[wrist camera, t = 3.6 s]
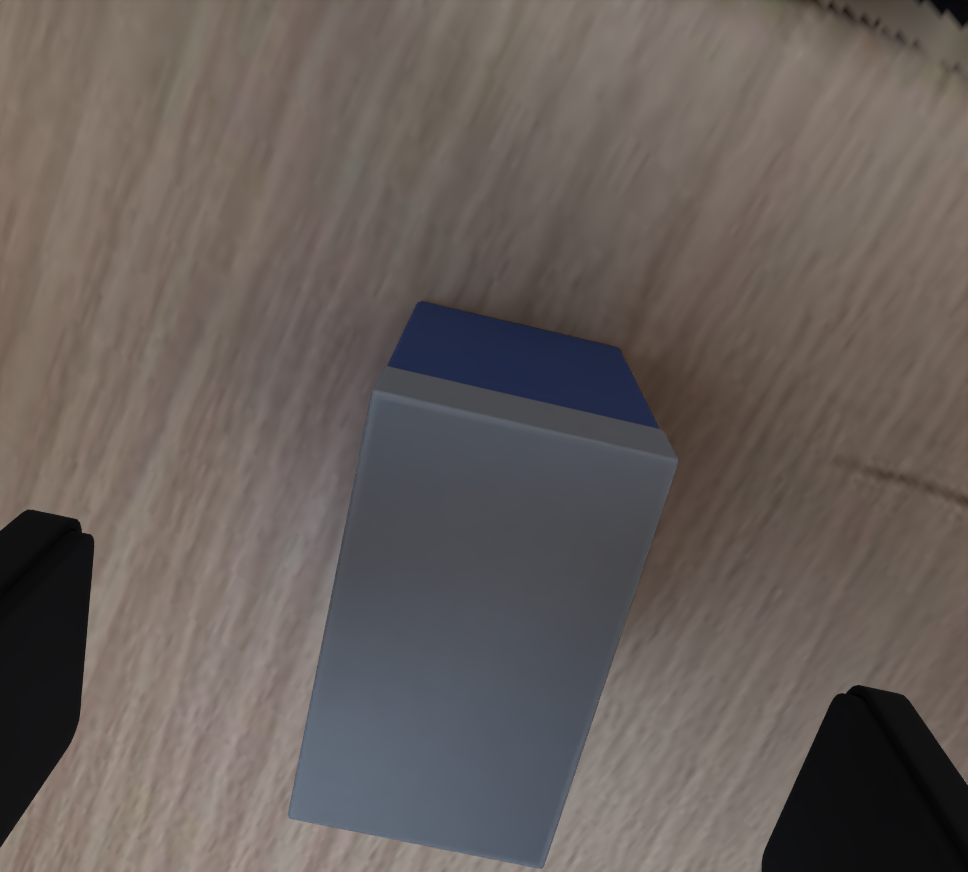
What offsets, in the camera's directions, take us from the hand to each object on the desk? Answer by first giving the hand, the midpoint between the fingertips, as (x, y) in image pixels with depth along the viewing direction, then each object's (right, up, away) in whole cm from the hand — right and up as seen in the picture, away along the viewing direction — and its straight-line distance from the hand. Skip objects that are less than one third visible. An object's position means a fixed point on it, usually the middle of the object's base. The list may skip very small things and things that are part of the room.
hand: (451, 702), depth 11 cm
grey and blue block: (0, +2, +7) cm, 8 cm away
